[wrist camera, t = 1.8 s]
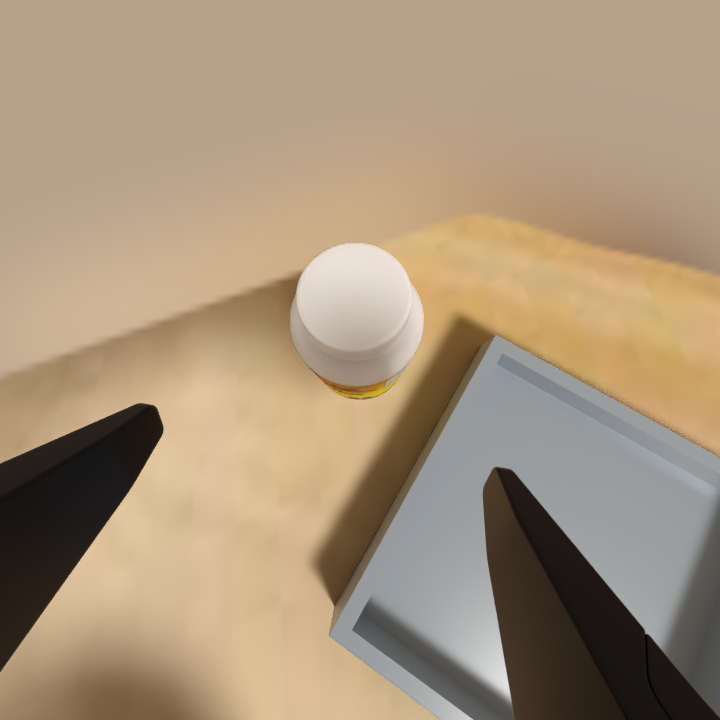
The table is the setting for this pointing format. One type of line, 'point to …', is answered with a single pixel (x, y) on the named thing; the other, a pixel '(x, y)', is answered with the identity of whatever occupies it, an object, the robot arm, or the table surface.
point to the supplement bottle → (356, 319)
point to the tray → (568, 509)
